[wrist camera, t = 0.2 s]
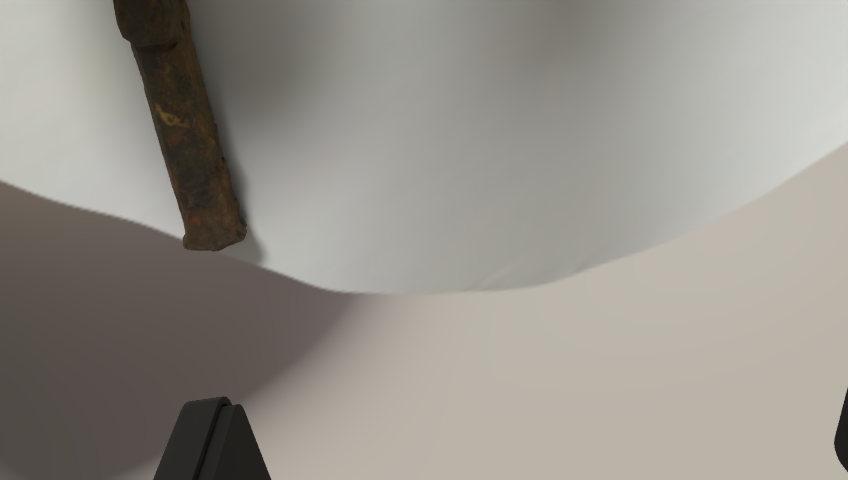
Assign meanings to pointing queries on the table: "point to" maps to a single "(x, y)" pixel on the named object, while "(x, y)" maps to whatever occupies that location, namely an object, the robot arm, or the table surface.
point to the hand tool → (183, 120)
